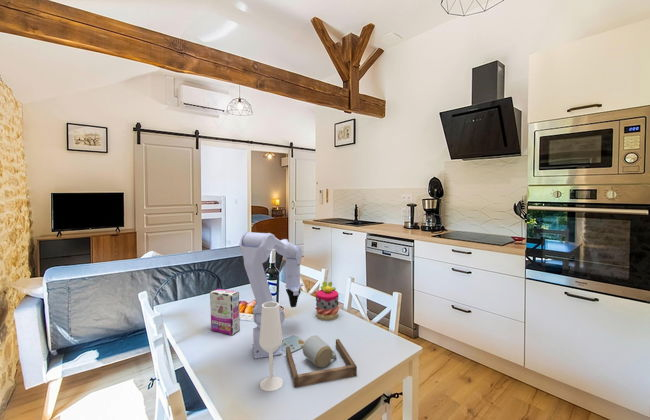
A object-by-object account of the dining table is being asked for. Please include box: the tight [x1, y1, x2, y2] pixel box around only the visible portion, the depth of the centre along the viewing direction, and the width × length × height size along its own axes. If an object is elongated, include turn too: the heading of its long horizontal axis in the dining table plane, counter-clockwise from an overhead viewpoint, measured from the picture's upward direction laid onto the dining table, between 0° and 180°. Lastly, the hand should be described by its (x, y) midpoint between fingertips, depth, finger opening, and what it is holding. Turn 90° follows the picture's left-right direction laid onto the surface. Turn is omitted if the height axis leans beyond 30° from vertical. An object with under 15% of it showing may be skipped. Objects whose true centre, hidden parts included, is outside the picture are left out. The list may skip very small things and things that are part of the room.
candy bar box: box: [209, 288, 241, 336], centre depth 117 cm, size 11×5×16 cm, turn 68°
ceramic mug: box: [302, 334, 337, 368], centre depth 97 cm, size 11×8×8 cm
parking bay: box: [285, 338, 358, 388], centre depth 94 cm, size 19×17×3 cm
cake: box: [315, 281, 340, 321], centre depth 131 cm, size 10×11×15 cm
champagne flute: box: [259, 301, 284, 392], centre depth 84 cm, size 7×7×24 cm
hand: (293, 306), depth 119 cm, fingers closed
